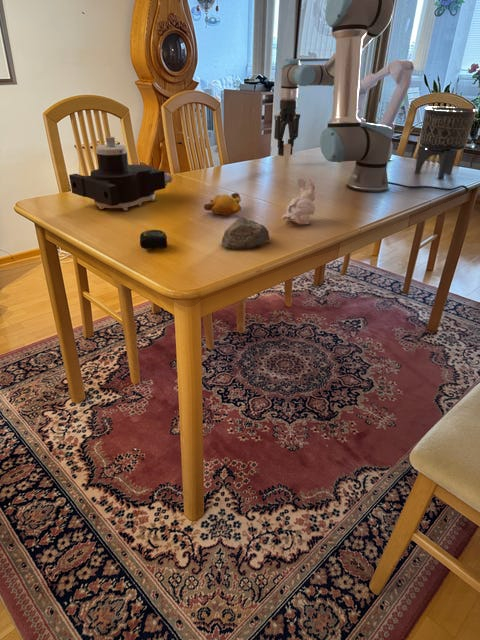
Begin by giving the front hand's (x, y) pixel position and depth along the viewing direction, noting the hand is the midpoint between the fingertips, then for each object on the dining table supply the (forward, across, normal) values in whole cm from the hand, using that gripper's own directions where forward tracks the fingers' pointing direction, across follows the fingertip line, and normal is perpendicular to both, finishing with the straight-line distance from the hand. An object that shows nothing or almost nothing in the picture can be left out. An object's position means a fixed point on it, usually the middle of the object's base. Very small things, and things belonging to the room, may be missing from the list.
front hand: (285, 154), depth 211 cm
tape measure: (+4, +99, +64) cm, 118 cm away
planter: (+4, -43, +51) cm, 67 cm away
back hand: (-4, -50, -4) cm, 50 cm away
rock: (+4, +77, +75) cm, 107 cm away
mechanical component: (+4, +86, +21) cm, 89 cm away
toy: (+4, +66, +48) cm, 81 cm away
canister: (0, 0, 0) cm, 0 cm away
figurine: (+4, +53, +68) cm, 86 cm away
